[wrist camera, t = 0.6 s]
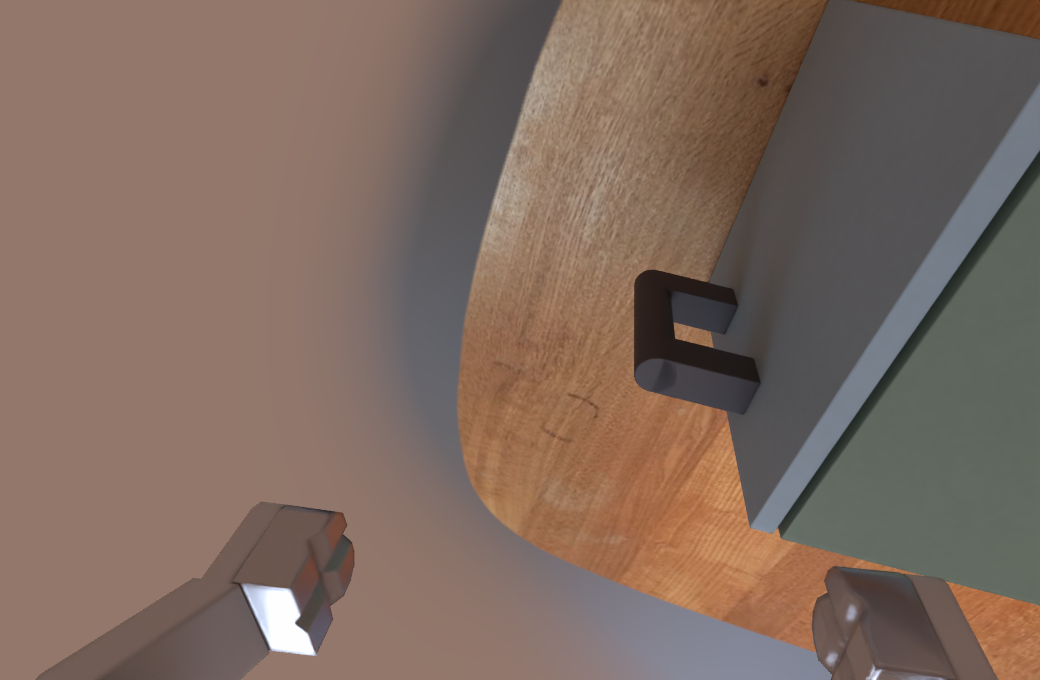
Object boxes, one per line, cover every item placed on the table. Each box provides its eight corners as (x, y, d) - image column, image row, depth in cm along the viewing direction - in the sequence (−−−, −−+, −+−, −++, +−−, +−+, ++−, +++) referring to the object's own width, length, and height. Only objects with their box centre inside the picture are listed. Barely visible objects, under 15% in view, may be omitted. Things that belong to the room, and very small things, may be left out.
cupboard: (720, 298, 40) (780, 539, 23) (853, 1, 30) (1124, 57, 13) (922, 348, 40) (1128, 629, 23) (1128, 63, 29) (1761, 202, 13)
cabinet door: (624, 276, 40) (617, 494, 24) (724, -29, 30) (830, -10, 14) (717, 298, 40) (773, 534, 24) (849, 0, 30) (1109, 54, 13)
